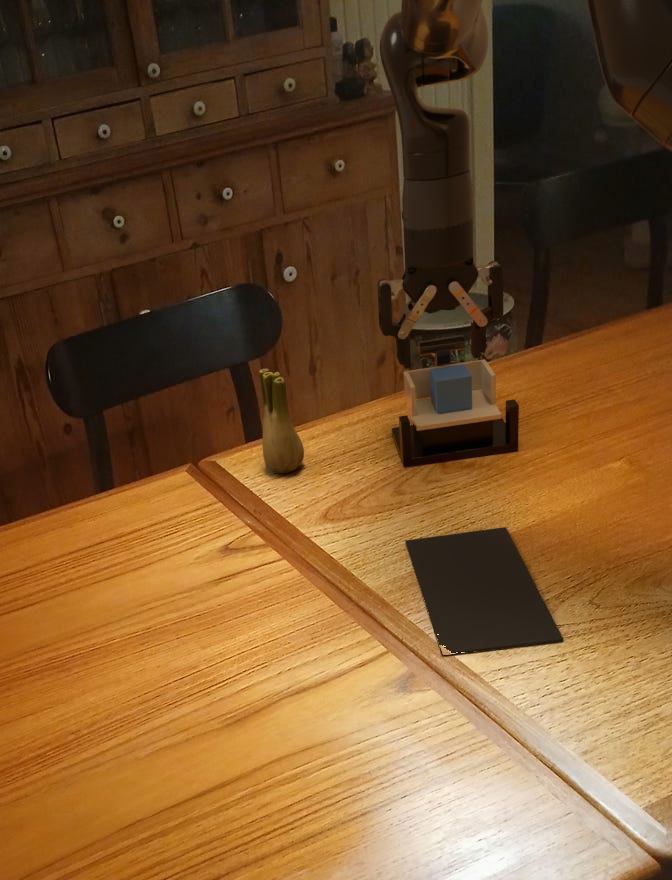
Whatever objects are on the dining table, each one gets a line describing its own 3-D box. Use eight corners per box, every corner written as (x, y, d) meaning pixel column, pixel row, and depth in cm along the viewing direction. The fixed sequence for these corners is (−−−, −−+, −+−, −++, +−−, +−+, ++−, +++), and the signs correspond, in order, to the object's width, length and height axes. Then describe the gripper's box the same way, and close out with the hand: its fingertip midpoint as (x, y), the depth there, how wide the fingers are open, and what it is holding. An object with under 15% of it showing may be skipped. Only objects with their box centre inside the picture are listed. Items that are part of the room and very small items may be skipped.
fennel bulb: (266, 460, 122) (253, 366, 115) (306, 455, 121) (295, 360, 114) (264, 480, 117) (250, 383, 111) (305, 476, 116) (294, 378, 110)
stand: (498, 419, 120) (499, 376, 117) (518, 451, 112) (519, 405, 109) (391, 435, 122) (389, 392, 119) (403, 467, 114) (401, 422, 111)
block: (465, 396, 116) (464, 364, 114) (472, 409, 113) (472, 375, 111) (430, 402, 117) (429, 369, 114) (437, 414, 113) (436, 381, 111)
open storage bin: (480, 385, 120) (480, 330, 116) (501, 418, 111) (502, 360, 107) (402, 397, 121) (399, 343, 117) (416, 431, 112) (414, 373, 108)
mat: (505, 529, 99) (505, 526, 98) (563, 641, 82) (563, 638, 82) (405, 542, 100) (405, 540, 100) (442, 656, 83) (441, 653, 83)
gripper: (377, 235, 106) (385, 381, 115) (512, 213, 105) (510, 362, 114) (368, 221, 112) (377, 360, 121) (496, 199, 111) (495, 342, 120)
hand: (441, 361), depth 117 cm, fingers open, 7 cm apart
